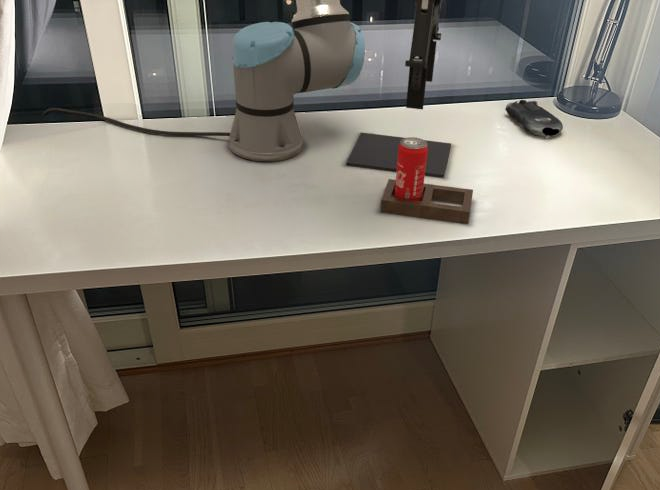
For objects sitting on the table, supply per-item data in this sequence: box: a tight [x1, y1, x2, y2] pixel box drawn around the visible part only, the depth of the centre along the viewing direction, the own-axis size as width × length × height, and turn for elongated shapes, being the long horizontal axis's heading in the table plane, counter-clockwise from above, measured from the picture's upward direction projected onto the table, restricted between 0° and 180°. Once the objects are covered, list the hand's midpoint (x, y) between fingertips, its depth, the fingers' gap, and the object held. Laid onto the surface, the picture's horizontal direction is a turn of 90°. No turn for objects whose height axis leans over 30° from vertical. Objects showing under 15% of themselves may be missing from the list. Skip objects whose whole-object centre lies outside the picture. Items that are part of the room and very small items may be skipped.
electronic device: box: [504, 99, 564, 139], centre depth 162 cm, size 9×6×15 cm
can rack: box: [379, 178, 474, 225], centre depth 130 cm, size 16×9×2 cm, turn 79°
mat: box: [345, 131, 452, 179], centre depth 148 cm, size 20×16×1 cm
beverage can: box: [393, 136, 428, 201], centre depth 128 cm, size 5×5×12 cm
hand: (419, 93), depth 118 cm, fingers open, 13 cm apart
